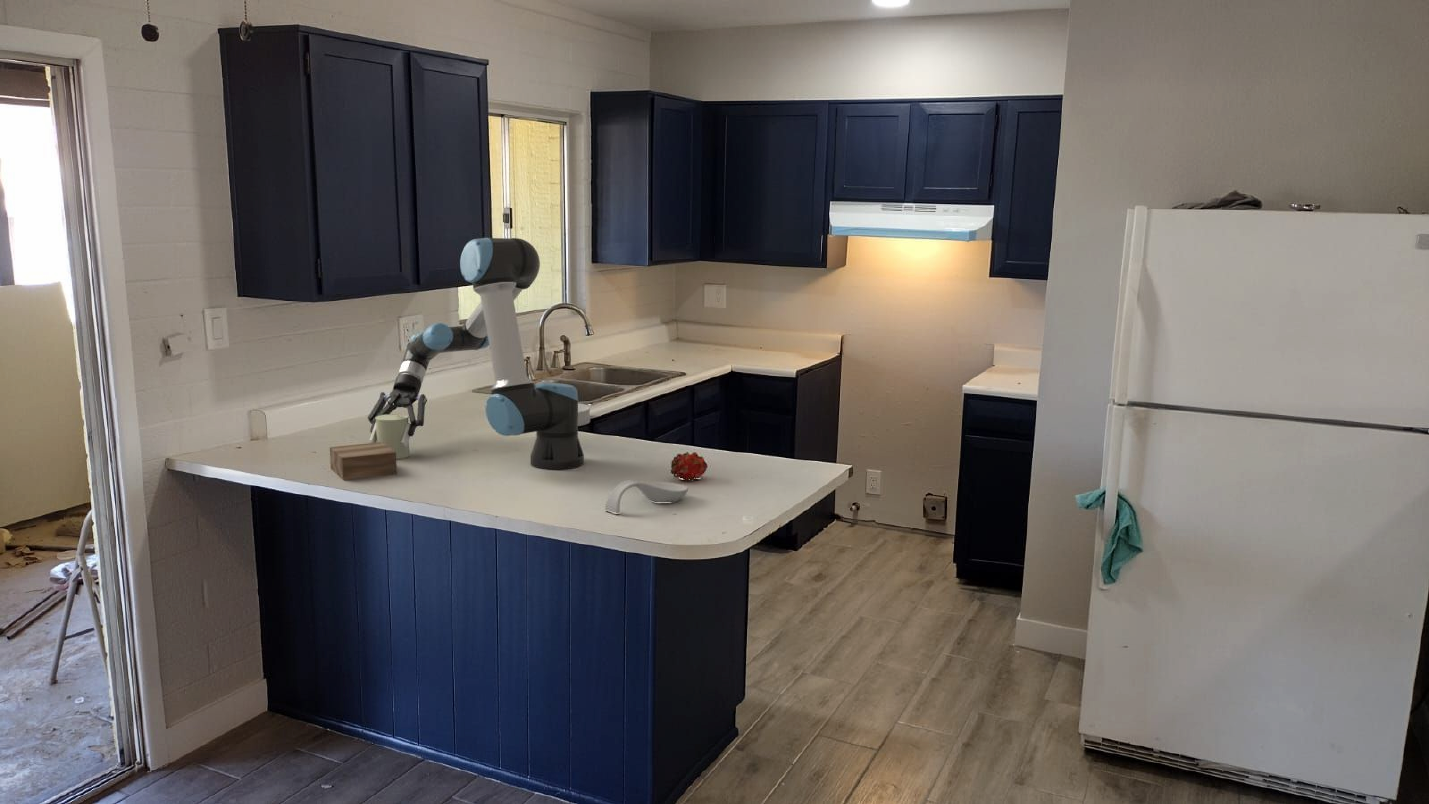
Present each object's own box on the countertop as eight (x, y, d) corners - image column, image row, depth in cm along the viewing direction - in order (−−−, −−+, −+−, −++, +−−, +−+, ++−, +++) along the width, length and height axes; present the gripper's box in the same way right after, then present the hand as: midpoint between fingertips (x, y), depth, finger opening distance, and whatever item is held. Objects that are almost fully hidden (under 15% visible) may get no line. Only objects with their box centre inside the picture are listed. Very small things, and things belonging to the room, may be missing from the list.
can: (400, 460, 290) (398, 419, 288) (370, 458, 292) (368, 417, 290) (415, 453, 299) (414, 413, 297) (386, 451, 301) (385, 411, 299)
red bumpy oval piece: (666, 488, 274) (702, 488, 281) (683, 475, 268) (719, 476, 275) (660, 459, 277) (695, 460, 284) (676, 446, 271) (712, 447, 278)
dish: (541, 431, 335) (540, 416, 334) (514, 419, 353) (514, 405, 352) (601, 424, 347) (601, 410, 346) (573, 413, 365) (573, 400, 364)
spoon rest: (664, 492, 265) (664, 465, 264) (697, 501, 257) (697, 473, 256) (595, 510, 248) (595, 481, 246) (628, 520, 240) (628, 491, 239)
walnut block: (396, 473, 276) (396, 452, 274) (343, 480, 268) (342, 457, 267) (382, 462, 287) (381, 442, 286) (330, 468, 280) (329, 447, 278)
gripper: (447, 389, 306) (428, 452, 293) (379, 385, 309) (356, 448, 296) (440, 374, 300) (420, 438, 287) (370, 371, 302) (347, 434, 290)
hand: (387, 443), depth 292 cm, fingers closed on can, 9 cm apart
